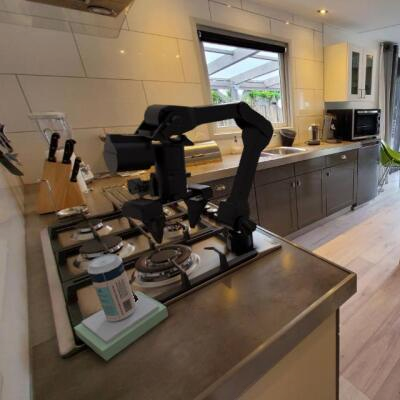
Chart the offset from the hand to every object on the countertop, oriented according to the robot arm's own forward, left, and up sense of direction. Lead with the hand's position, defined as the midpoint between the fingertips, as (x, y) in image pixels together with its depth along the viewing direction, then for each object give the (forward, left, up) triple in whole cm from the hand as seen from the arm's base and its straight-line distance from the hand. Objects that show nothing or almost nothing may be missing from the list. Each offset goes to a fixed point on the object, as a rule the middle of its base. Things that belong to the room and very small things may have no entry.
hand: (177, 235), depth 57 cm
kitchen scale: (+13, +7, -13) cm, 19 cm away
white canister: (+13, +7, -10) cm, 17 cm away
